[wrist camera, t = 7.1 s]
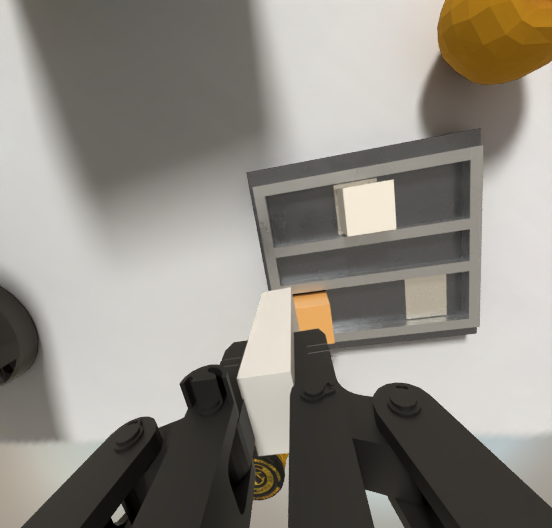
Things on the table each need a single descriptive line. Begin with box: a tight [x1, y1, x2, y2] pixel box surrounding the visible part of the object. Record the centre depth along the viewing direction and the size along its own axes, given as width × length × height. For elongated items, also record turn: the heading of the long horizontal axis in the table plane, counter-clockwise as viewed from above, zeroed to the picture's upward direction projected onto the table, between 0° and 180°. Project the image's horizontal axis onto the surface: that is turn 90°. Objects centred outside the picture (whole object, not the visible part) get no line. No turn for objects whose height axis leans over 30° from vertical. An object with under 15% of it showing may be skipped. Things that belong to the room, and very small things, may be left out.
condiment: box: [252, 443, 289, 500], centre depth 28 cm, size 7×8×12 cm
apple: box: [437, 0, 552, 85], centre depth 18 cm, size 9×9×9 cm
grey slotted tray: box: [247, 128, 483, 349], centre depth 26 cm, size 21×20×3 cm
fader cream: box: [336, 179, 396, 236], centre depth 23 cm, size 4×4×4 cm
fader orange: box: [293, 291, 335, 344], centre depth 26 cm, size 4×4×4 cm
